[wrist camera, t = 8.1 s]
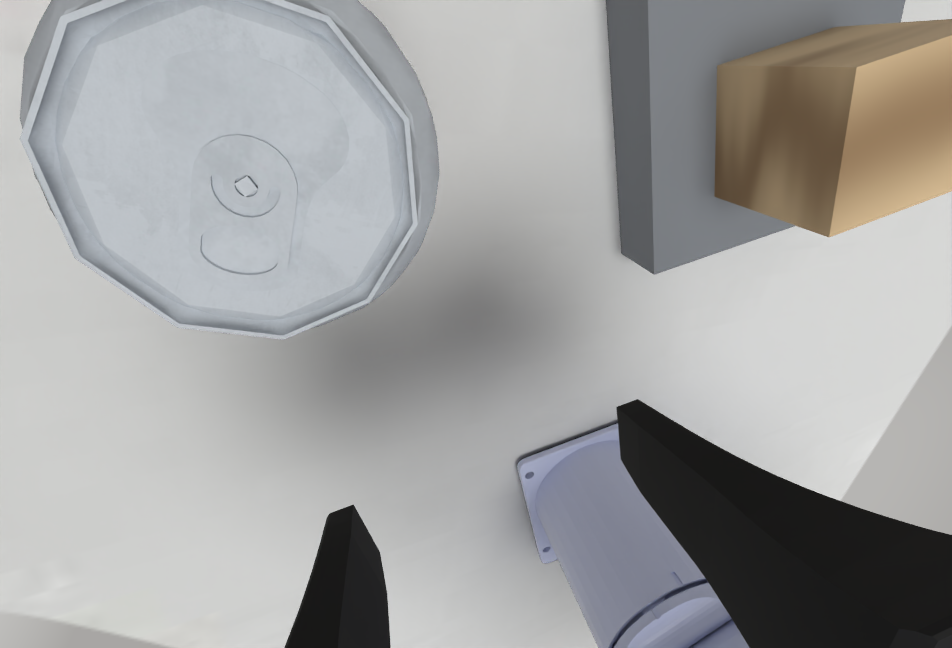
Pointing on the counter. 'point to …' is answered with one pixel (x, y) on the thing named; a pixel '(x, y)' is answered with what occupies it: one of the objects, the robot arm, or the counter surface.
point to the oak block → (838, 125)
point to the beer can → (231, 155)
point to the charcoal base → (694, 113)
